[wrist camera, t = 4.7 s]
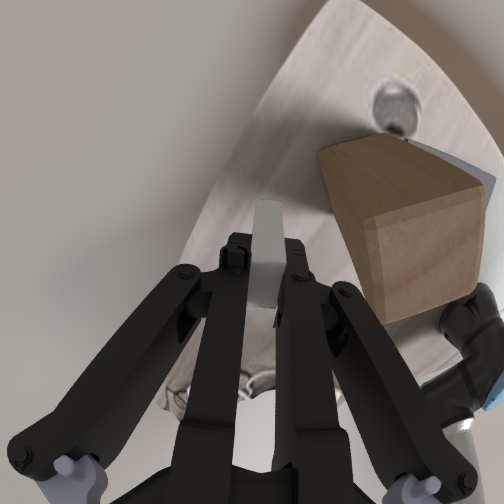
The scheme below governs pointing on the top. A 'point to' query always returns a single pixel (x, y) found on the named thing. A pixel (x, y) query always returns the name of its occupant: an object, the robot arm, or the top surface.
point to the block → (405, 223)
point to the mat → (484, 177)
